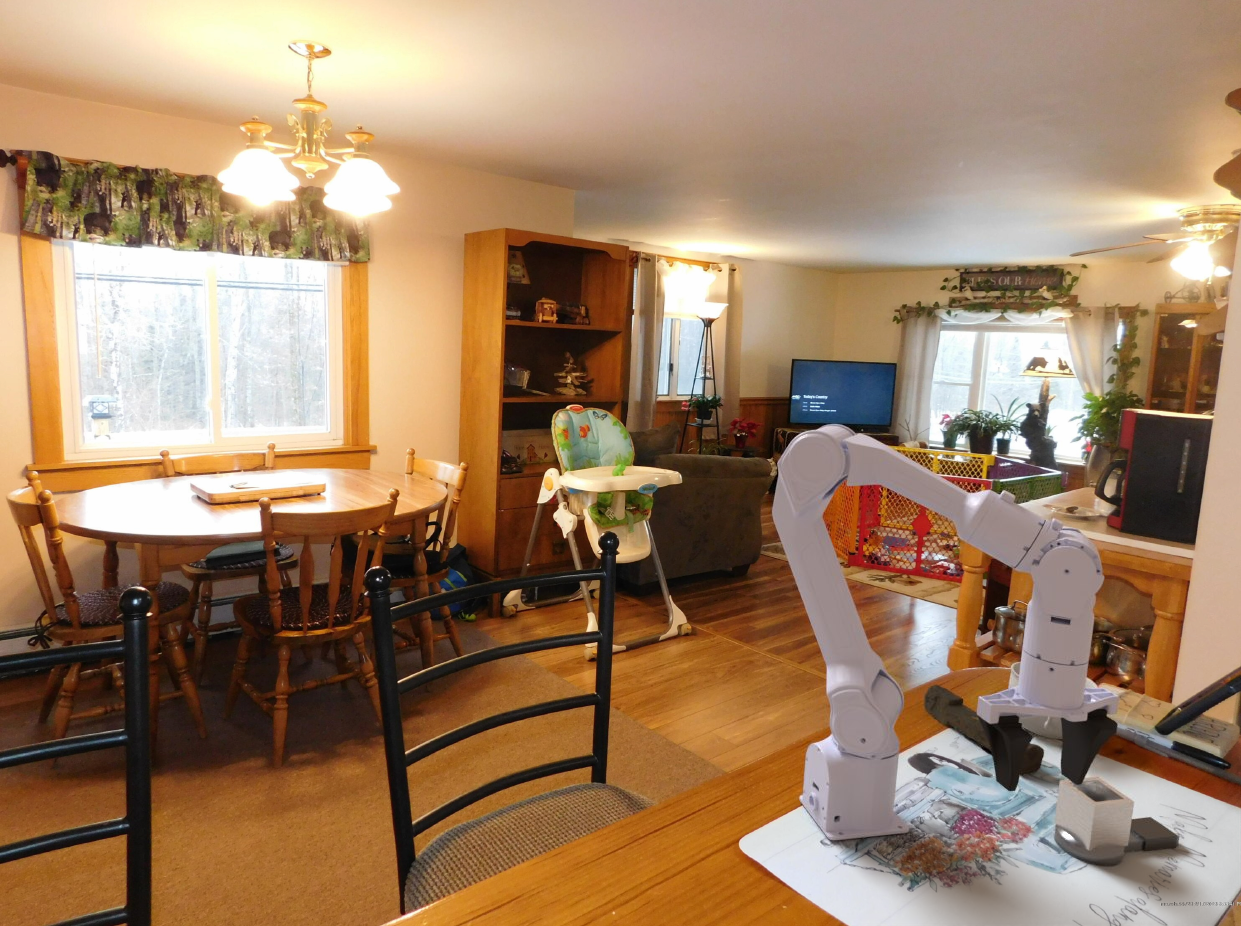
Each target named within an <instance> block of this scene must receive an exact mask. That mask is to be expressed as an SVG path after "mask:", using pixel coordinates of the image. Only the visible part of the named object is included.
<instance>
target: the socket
mask: <svg viewBox="0 0 1241 926" xmlns="http://www.w3.org/2000/svg"><path fill="white" fill-rule="evenodd" d="M1058 785H1059V786H1058V792H1057V798H1056V799H1057V800H1056V808H1055V815H1054V824H1055V826H1056V825H1058V826H1059V827H1060V828H1061V829H1063V830H1064V831H1065V832H1066V833H1068V834H1069V835H1070V836H1071V837H1073V838H1074V839H1075V840H1076V841H1078V842H1079V843H1080V844H1081V845H1083V846H1084V847H1085V848H1086V849H1088V850H1097V849H1105V848H1113V847H1121V846H1128V841H1129V835H1130V828H1131V821H1132V819H1133V814H1134V808H1135V807H1134V806H1135V801H1134V800H1133V799H1132V798H1129V796H1127V795H1125V794H1124V793H1123V792H1121V791H1120V790H1118V789H1117V788H1115V787H1113V786H1112V785H1111V784H1109V783H1108V782H1107V781H1104V780H1103V779H1102V778H1100V777H1099V776H1090V777H1085V778H1084V780H1083V782H1082V784H1080V785H1076V784H1074V783H1073V782H1072V781H1070V780H1069V779H1062V780H1061V779H1060V780H1059V784H1058ZM1093 800H1094V801H1093ZM1095 801H1096V802H1095Z"/></svg>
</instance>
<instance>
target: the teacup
mask: <svg viewBox="0 0 1241 926" xmlns="http://www.w3.org/2000/svg"><path fill="white" fill-rule="evenodd" d="M1020 665H1021V661H1017V662H1016V661H1015V662H1014V663H1013V664H1011V666H1010V676H1009V681H1008V689H1010V688H1012V687H1015V686H1018V681H1019V673H1020ZM1085 688H1099V686H1098V685H1097V684H1096V683H1095V682H1094V681H1093V680H1092V679H1091V678H1088V677H1086V684H1085ZM1019 723H1022V728H1023V729H1024V730H1026V731H1028V732H1031V733H1032V734H1035V735H1038V736H1042V737H1045V738H1048V739H1054V740H1062V724H1061V718H1059V717H1049V716H1039V717H1026V718H1019Z"/></svg>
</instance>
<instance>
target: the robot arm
mask: <svg viewBox="0 0 1241 926" xmlns="http://www.w3.org/2000/svg"><path fill="white" fill-rule="evenodd" d="M777 470H778V471H777V472H778V477H777V482H776V487H775V493H774V497H773V498H774V499H773V504H772V510H771V514H772V519H773V523H774V525H775V528H776V531H777V533H778V536H779V539H780V542H781V545H782V548H783V551H784V554H785V556H786V558H787V561H788V564H789V567H790V569H791V572H792V574H793V578H794V582H795V584H796V586H797V588H798V591H799V594H800V597H801V599H802V602H803V603H802V604H804V605H803V606H804V608H805V610H806V613H807V616H808V619H809V622H810V624H811V627H812V630H813V632H814V635H815V637H816V640H817V643H818V646H819V648H820V651H821V654H822V658H823V660H824V662H825V665H826V685H825V686H826V695H827V699H828V702H829V704H830V705H829V706H830V715H829V716H830V717H829V728H830V731H831V734H830V735H829V736H828V737H826V738H824V739H823V740H820V741H817V742H813V743H811V744H809V745H808V747H807V749H806V752H805V762H804V775H803V786H802V788H803V789H802V794H801V795H800V796H799V801H800V803H801V804H802V805H803V807H804V808H805V809H806V810H807V812H808V814H809V815H810V816H811V817H812V819H813V820H814V821H815V822H816V824H817V826H818V827H819V828H820V829H821V831H822V832H823V834H824V835H825V836H826V838H828V840H830V841H841V840H842V841H843V840H849V839H858V838H859V839H860V838H868V837H878V836H886V835H896V834H906V833H909V831H910V827H909V825H908V824H907V823H906V822H905V821H904V820H903V819H902V818H901V817H900V816H899V815H898V814H897V812H896V811H895V799H896V790H897V779H898V767H899V755H900V745H901V744H900V743H901V742H900V739H899V738H898V736H897V733H896V732H895V728H894V727H895V724H896V723H897V720H898V718H899V716H900V715H901V713H902V712H903V709H904V705H905V698H904V693H903V690H902V688H901V685H899V683H898V682H897V681H896V679H894V678H893V677H892V676H891V675H890V674H889V672H888V671H887V669H886V667H885V665H884V662H883V660H882V658H881V657H880V656H879V655H878V654H877V653H876V652H875V651H874V650H873V649H872V647H871V645H870V643H869V640H868V637H867V634H866V632H865V629H864V627H863V624H862V621H861V618H860V615H859V612H858V610H857V607H856V604H855V601H854V599H853V596H852V593H851V591H850V588H849V585H848V582H847V580H846V576H845V575H844V572H843V569H842V567H841V564H840V561H839V559H838V556H837V552H836V551H835V547H834V544H833V542H832V539H831V537H830V533H829V531H828V529H827V526H826V523H825V521H824V518H823V516H824V513H825V511H826V509H827V508H828V505H829V504H830V502H831V500H832V498H833V496H834V495H835V493H836V491H837V489H838V488H839V487H840V486H842V484H843V483H844V482H846V487H857V486H858V487H859V486H871V485H872V486H873V485H875V486H876V485H879V486H882V487H884V488H886V489H889V490H890V491H893V492H894V493H896V494H898V495H901V496H902V497H904V498H906V499H909V500H911V501H913V502H914V503H916V504H919V505H920V506H922V507H925V508H927V509H928V510H930V511H932V512H935V513H937V514H938V515H941V516H942V517H945V518H947V519H949V520H951V521H952V523H953V525H954V527H955V530H956V533H957V537H958V539H960V540H961V541H963V542H965V543H967V544H969V545H970V546H972V547H974V548H975V549H978V550H980V551H981V552H983V553H985V554H987V555H989V556H990V557H992V558H994V559H996V560H997V561H999V562H1001V563H1003V564H1005V565H1006V566H1008V567H1010V568H1011V569H1013V570H1014V571H1017V572H1020V573H1026V574H1027V573H1028V574H1029V575H1031V579H1032V581H1033V587H1032V595H1031V599H1030V600H1029V602H1028V604H1027V608H1026V609H1027V610H1026V616H1025V623H1024V632H1023V633H1024V634H1023V641H1022V648H1021V658H1020V662H1021V665H1020V673H1019V681H1018V686H1015V687H1012V688H1010V689H1003V690H1001V691H998V692H996V693H993V694H987V695H980V696H978V699H977V700H978V701H977V709H976V712H977V715H978V718H979V720H980V722H981V724H982V727H983V729H984V731H985V733H986V736H987V739H988V742H989V745H990V748H991V751H990V752H991V756H992V760H993V767H994V774H995V781H996V782H997V783H998V784H999V785H1000V786H1001V787H1003V788H1004V789H1006V791H1008V792H1015V791H1016V790H1017V787H1018V785H1019V782H1020V777H1021V775H1020V770H1021V764H1022V761H1023V757H1024V754H1025V752H1026V749H1027V747H1028V745H1029V744H1030V743H1031V742H1032V740H1033V739H1034V738H1035V736H1034V735H1033V733H1030V731H1028V730H1027V729H1025V728H1024V727H1023V726H1022V723H1019V718H1026V717H1039V716H1049V717H1059V718H1061V724H1062V739H1061V740H1062V743H1061V752H1060V753H1061V754H1060V773H1061V775H1062V776H1063V777H1065V778H1066V780H1070V781H1072V782H1073V783H1074V784H1076V785H1080V784H1082V782H1083V780H1084V778H1086V776H1087V773H1088V772H1089V770H1090V767H1091V766H1092V764H1093V762H1094V760H1095V759H1096V757H1097V755H1098V753H1099V752H1100V751H1101V749H1102V748H1103V747H1104V746H1105V745H1106V743H1107V742H1108V741H1109V740H1110V739H1112V737H1113V736H1115V735H1116V734H1117V732H1118V725H1119V724H1118V722H1116V721H1115V720H1114V719H1113V718H1111V717H1108V715H1110V716H1111V715H1117V714H1118V709H1119V703H1120V696H1119V695H1118V694H1116V693H1114V692H1113V691H1110V690H1109V689H1107V688H1105V687H1098V688H1085V684H1086V677H1087V675H1088V666H1089V661H1090V654H1091V646H1092V638H1093V632H1094V624H1095V614H1094V611H1093V610H1094V607H1095V606H1096V600H1097V596H1096V594H1097V593H1098V591H1099V590H1100V589H1101V588H1102V585H1103V583H1104V581H1105V575H1104V574H1103V565H1102V561H1101V557H1100V553H1099V550H1098V547H1097V546H1096V545H1095V543H1094V542H1093V541H1092V540H1091V539H1090V538H1089V537H1088V536H1086V535H1085V534H1084V533H1082V531H1080V530H1079V529H1078V528H1075V527H1071V526H1064V522H1063V521H1061V520H1059V519H1057V518H1055V517H1053V518H1052V520H1049V519H1047V518H1045V517H1043V516H1040V515H1038V514H1037V513H1035V512H1033V511H1031V510H1029V509H1028V508H1026V507H1024V506H1022V505H1020V504H1018V503H1016V502H1015V500H1016V495H1015V494H1013V493H1011V492H1009V491H1007V490H1004V489H1003V490H1002V492H1001V493H1000V494H999V493H997V492H995V491H993V490H991V489H985V490H982V491H981V490H980V491H977V492H968V491H966V490H964V489H962V488H961V487H960V486H958V485H956V484H954V483H953V482H951V481H949V480H947V479H946V478H943V477H942V476H940V475H939V474H937V473H935V472H934V471H932V470H930V469H928V468H927V467H925V466H923V465H921V464H920V463H918V462H916V461H915V460H913V459H911V458H909V457H907V456H906V455H904V454H903V453H901V452H899V451H897V450H896V449H894V448H892V447H890V446H889V445H887V444H885V443H882V442H881V441H879V440H877V439H875V438H874V437H871V436H869V435H867V434H864V433H860V432H859V433H856V432H855V431H854V430H853V429H851V428H849V427H847V426H846V425H843V424H839V423H838V424H837V423H831V424H826V425H822V426H821V427H819V428H817V429H812V430H807V431H803V432H800V433H799V434H798V435H796V436H795V437H794V438H793V439H792V440H791V441H790V443H789V444H788V446H787V447H786V449H785V450H784V452H783V453H782V455H781V456H780V458H779V459H778V461H777ZM1087 678H1088V677H1087Z"/></svg>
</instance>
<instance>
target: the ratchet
mask: <svg viewBox="0 0 1241 926" xmlns="http://www.w3.org/2000/svg"><path fill="white" fill-rule="evenodd" d="M1093 801H1094V800H1093ZM1095 802H1096V801H1095ZM1053 838H1054V842H1055V844H1056V845H1057V847H1059V848H1060V850H1062V851H1063V852H1065V854H1067V855H1069V856H1071V857H1072V858H1074V859H1076V860H1078V861H1081V862H1083V863H1086V864H1088V865H1093V866H1098V867H1115V866H1118V865H1120V864H1121V863H1122V862H1123V859H1124V855H1125V853H1133V852H1141V851H1142V852H1153V851H1163V850H1169V849H1170V850H1171V849H1176V847H1179V842H1180V835H1177V833H1175V832H1173V831H1172V830H1171V829H1169V828H1168V827H1167V826H1164V825H1163V823H1160V822H1159V821H1158V820H1155V819H1154V818H1152V816H1149V817H1147V816H1145V817H1140V818H1132V821H1131V828H1130V835H1129V841H1128V846H1121V847H1113V848H1105V849H1097V850H1088V849H1086V848H1085V847H1084V846H1083V845H1081V844H1080V843H1079V842H1078V841H1076V840H1075V839H1074V838H1073V837H1071V836H1070V835H1069V834H1068V833H1066V832H1065V831H1064V830H1063V829H1061V828H1060V827H1059V826H1058V825H1056V824H1055V828H1054V834H1053Z"/></svg>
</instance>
